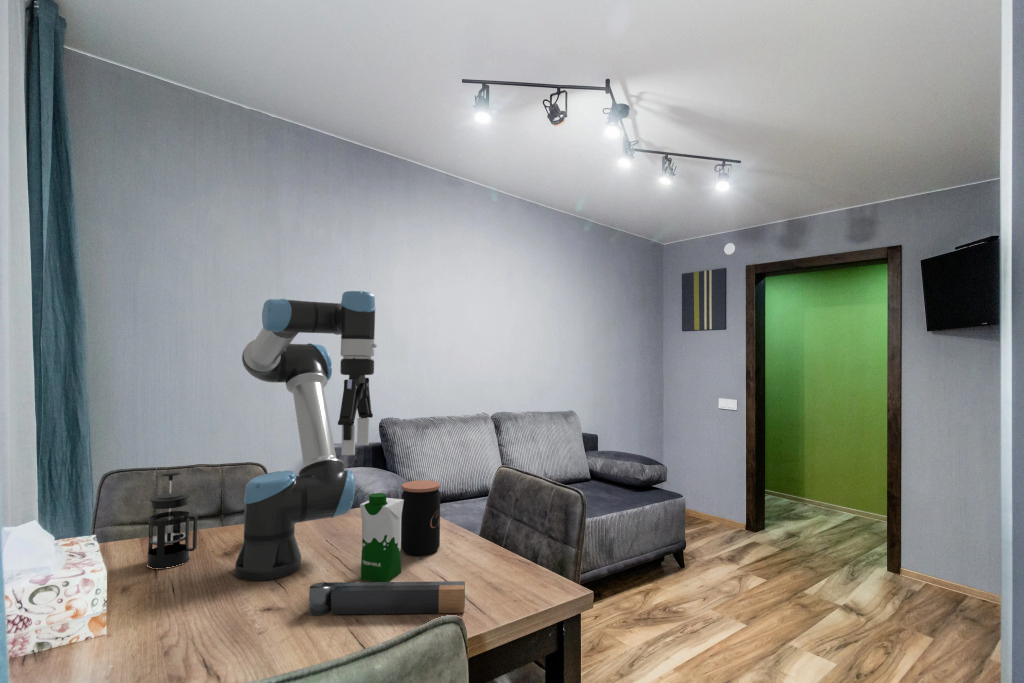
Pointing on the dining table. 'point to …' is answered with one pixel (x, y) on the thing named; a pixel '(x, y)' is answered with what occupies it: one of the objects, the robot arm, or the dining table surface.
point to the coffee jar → (420, 518)
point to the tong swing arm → (398, 599)
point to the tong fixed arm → (323, 591)
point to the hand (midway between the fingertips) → (355, 449)
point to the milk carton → (381, 538)
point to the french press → (175, 550)
